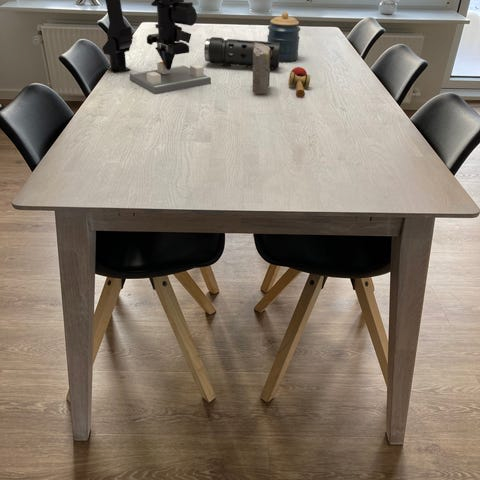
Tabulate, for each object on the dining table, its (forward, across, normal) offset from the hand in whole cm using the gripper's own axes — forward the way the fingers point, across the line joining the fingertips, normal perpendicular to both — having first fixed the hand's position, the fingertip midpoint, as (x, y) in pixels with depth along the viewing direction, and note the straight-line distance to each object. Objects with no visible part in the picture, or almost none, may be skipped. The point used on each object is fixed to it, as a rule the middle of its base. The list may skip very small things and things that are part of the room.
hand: (168, 69), depth 180 cm
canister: (+4, +3, -55) cm, 55 cm away
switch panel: (+4, -1, 0) cm, 4 cm away
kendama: (+4, -31, -34) cm, 46 cm away
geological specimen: (+4, -25, -21) cm, 33 cm away
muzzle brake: (+4, +1, -33) cm, 33 cm away
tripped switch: (+2, +3, 0) cm, 4 cm away
